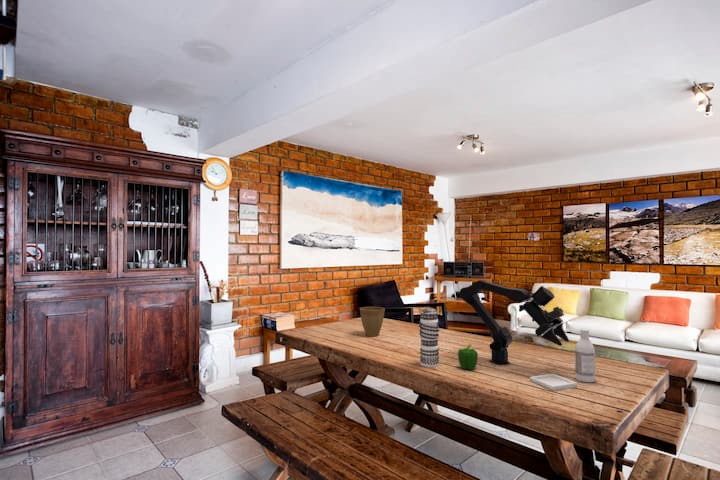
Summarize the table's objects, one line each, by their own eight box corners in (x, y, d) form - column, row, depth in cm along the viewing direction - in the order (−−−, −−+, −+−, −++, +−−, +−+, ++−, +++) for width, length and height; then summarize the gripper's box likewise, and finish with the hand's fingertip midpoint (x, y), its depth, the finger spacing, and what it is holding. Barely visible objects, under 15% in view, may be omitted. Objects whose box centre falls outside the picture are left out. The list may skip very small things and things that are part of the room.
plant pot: (385, 338, 229) (385, 310, 229) (359, 338, 229) (359, 310, 230) (384, 332, 244) (384, 306, 244) (360, 332, 244) (359, 306, 244)
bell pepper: (468, 372, 169) (468, 348, 169) (454, 367, 176) (454, 344, 176) (482, 368, 173) (482, 345, 173) (468, 364, 180) (467, 341, 180)
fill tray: (553, 391, 147) (552, 386, 147) (529, 380, 158) (529, 376, 158) (577, 387, 151) (577, 382, 151) (552, 377, 162) (552, 373, 162)
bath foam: (577, 375, 164) (576, 326, 164) (596, 379, 159) (596, 329, 159) (573, 380, 158) (572, 329, 158) (593, 384, 154) (592, 332, 154)
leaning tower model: (427, 359, 187) (426, 306, 187) (444, 363, 180) (443, 308, 181) (415, 364, 181) (414, 308, 181) (432, 368, 174) (431, 311, 174)
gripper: (543, 303, 160) (573, 335, 153) (557, 298, 174) (586, 327, 167) (523, 320, 166) (551, 352, 158) (539, 314, 180) (566, 343, 172)
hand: (564, 343), depth 164 cm, fingers open, 9 cm apart
